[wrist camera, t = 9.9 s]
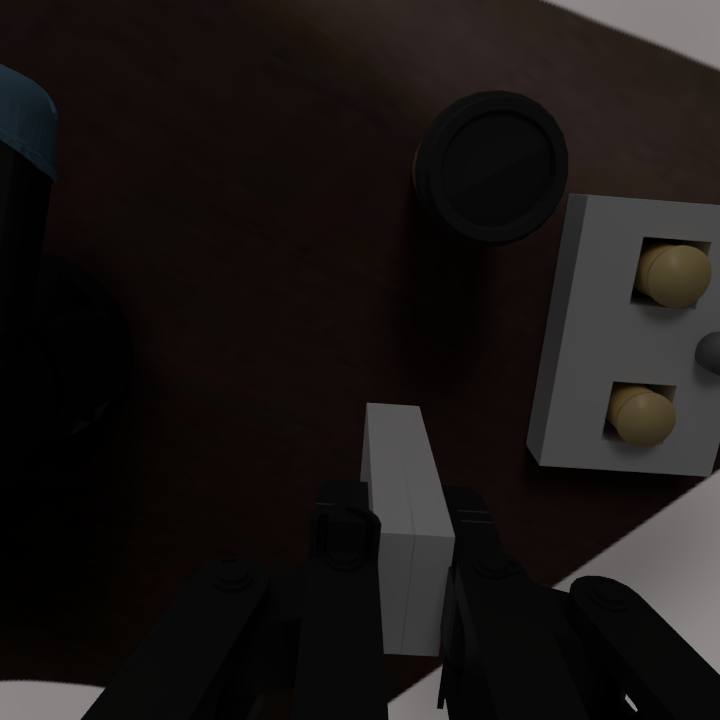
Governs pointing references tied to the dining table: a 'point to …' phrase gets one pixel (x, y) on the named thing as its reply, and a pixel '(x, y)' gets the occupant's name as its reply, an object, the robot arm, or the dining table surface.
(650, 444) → the knob
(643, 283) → the knob
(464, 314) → the dining table surface
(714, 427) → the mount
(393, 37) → the dining table surface
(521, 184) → the coffee cup
